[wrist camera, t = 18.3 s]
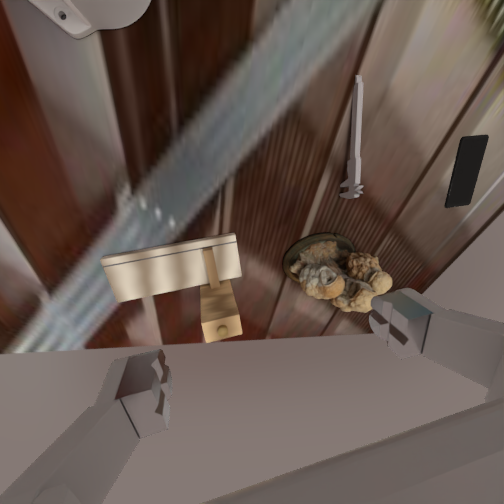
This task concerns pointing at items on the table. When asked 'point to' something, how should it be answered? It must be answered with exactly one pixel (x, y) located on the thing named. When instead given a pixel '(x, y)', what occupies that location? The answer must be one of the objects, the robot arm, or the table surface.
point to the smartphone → (466, 170)
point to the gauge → (218, 304)
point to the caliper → (355, 143)
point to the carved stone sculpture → (336, 271)
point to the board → (170, 267)
